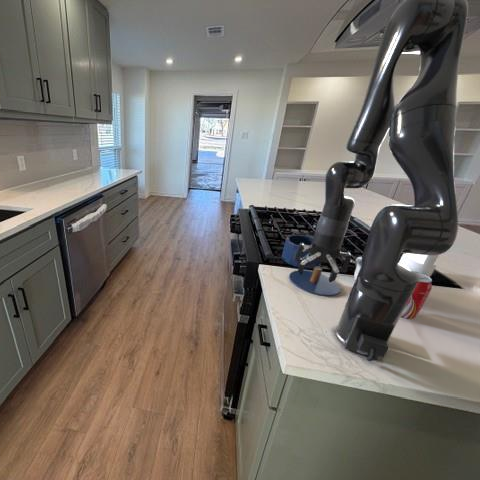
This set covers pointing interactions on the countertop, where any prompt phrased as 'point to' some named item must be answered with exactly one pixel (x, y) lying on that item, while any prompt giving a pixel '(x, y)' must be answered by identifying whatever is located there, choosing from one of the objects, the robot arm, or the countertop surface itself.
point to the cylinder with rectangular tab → (419, 263)
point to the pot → (292, 247)
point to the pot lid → (314, 282)
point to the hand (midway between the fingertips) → (315, 277)
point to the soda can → (418, 296)
